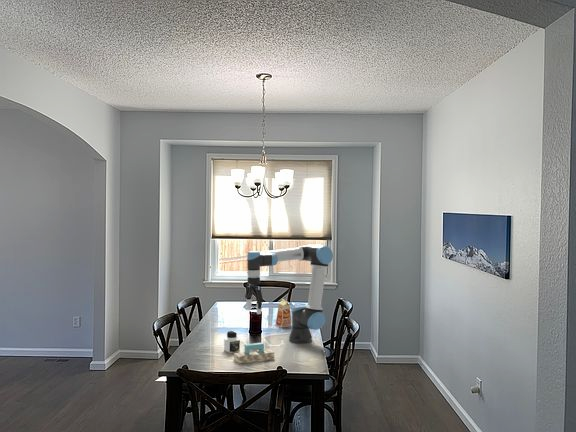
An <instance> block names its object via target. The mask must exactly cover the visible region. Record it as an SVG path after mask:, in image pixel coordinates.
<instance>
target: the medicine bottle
mask: <svg viewBox="0 0 576 432" xmlns="http://www.w3.org/2000/svg"><path fill="white" fill-rule="evenodd" d="M240 345H241V340H240V339H239V338H238V332H237V331H235V330H228V331H227V333H226V338H225V339H223V347H224V348H223V351H224V352H227V353H229V354H232V353H233V354H234V353H240V352H241V351H240V349H241V346H240Z"/></svg>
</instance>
